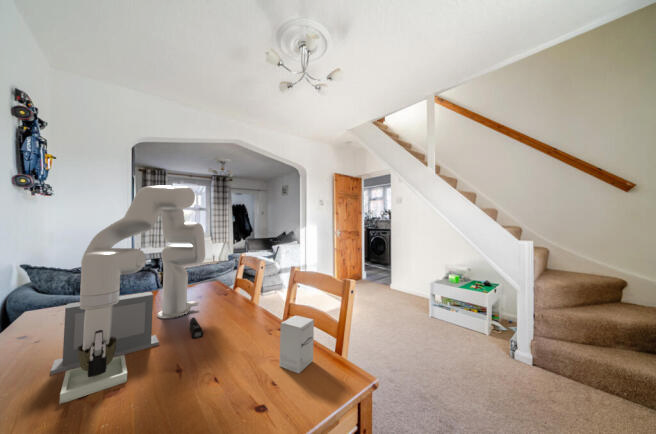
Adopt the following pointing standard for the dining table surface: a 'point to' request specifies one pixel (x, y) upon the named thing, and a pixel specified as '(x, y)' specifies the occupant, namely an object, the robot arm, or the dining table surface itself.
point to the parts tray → (92, 380)
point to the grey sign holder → (126, 326)
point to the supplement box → (296, 343)
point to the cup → (85, 355)
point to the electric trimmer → (195, 329)
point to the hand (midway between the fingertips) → (97, 367)
